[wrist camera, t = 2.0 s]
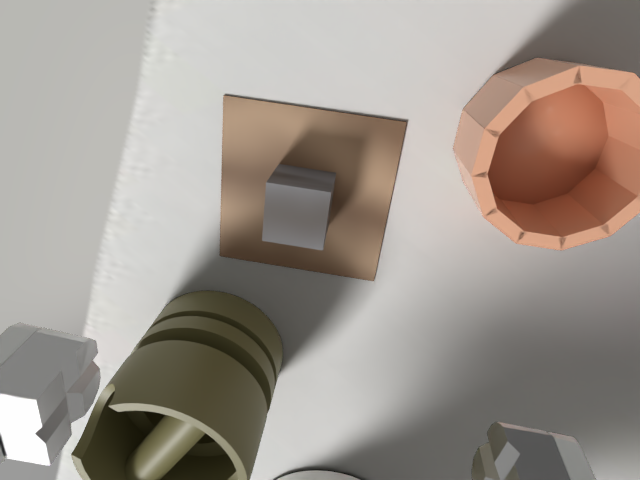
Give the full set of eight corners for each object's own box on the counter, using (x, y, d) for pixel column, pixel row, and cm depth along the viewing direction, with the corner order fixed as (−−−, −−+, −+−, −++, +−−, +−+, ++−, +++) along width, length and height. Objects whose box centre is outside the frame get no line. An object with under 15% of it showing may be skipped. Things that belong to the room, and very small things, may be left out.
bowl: (578, 218, 30) (623, 259, 25) (440, 197, 30) (454, 234, 25) (639, 71, 26) (710, 83, 20) (478, 49, 26) (505, 55, 21)
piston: (44, 469, 29) (116, 371, 24) (133, 349, 40) (195, 265, 35) (191, 548, 31) (283, 471, 26) (237, 413, 42) (309, 342, 37)
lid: (373, 275, 34) (373, 311, 30) (222, 251, 35) (201, 282, 31) (406, 119, 29) (411, 136, 25) (227, 93, 30) (202, 105, 25)
